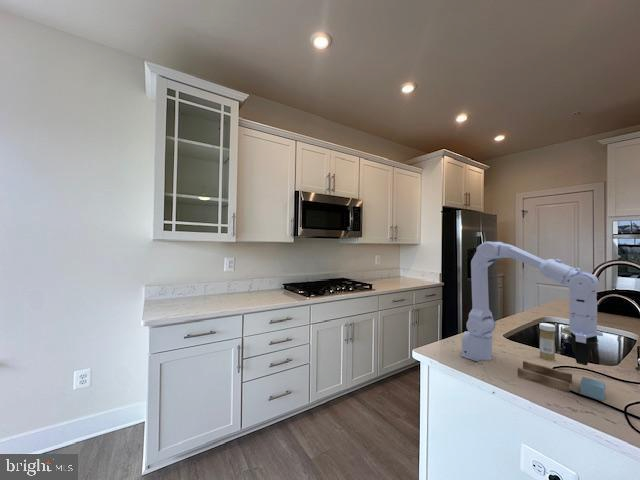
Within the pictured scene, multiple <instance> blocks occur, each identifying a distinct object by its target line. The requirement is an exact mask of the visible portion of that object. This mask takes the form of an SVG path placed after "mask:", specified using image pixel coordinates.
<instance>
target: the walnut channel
mask: <svg viewBox="0 0 640 480" xmlns="http://www.w3.org/2000/svg"><path fill="white" fill-rule="evenodd" d="M517 377H518V378H520V379H524V380H528V381H530V382H534V383H537V384H540V385H543V386H546V387H549V388H553V389H556V390H559V391H563V392H566V393H568V394H569V393H570V390H571V386H572V383H573V374H572V373H570V372H566V371H563V370H559V369H555V368H551V367H548V366H544V365H540V364H538V363H537V364H536V363H533V362H531V361H530V362H529V361H526V360H523V361H522V368H521V367H517Z"/></svg>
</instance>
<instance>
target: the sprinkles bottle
mask: <svg viewBox="0 0 640 480" xmlns="http://www.w3.org/2000/svg"><path fill="white" fill-rule="evenodd" d="M538 324H539V327H538V328H539V358H541V359H543V360H546V361H552V362H553V361H556V357H555V356H556V355H555V354H556V345H555V344H556V333H555V332H556V326H555V325H554V324H552V323H547V322H541V323H538Z"/></svg>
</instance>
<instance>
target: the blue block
mask: <svg viewBox="0 0 640 480" xmlns="http://www.w3.org/2000/svg"><path fill="white" fill-rule="evenodd" d="M580 395H583V396H587V397H588V398H589V397H590V398H592V399H596V400H599V401H601V402H604V401H605V397H606V382H603V381H599V380H598V379H597V380H596V379H593V378H590V377H586V376H582V377H581V380H580Z"/></svg>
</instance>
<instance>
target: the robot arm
mask: <svg viewBox="0 0 640 480" xmlns="http://www.w3.org/2000/svg"><path fill="white" fill-rule="evenodd" d="M505 258H506V259H508V258H509V259H510V258H511V259H514V260H517V261H519V262H521V263H524V264H526V265H529V266H531V267H533V268H536V269H538V271H539V273H540V274H541V275H542V276H543V277H545V278H548V279H550V280H553V281H554V282H557V283H559V284H561V285H563V286H566V287H567V288H568V289H569V290H570V291H569V318H568V319H569V320H568V322H569V324H568V325H569V326H568V331H569V332H570V335H571V336H569V335H568V337H567V340H568V342H569V343H570V345H571V347H572V351H573V353H574V358H575V362H576V364H579V365H583V366H588V364H589V360H590V357H591V353H592V351H593V349H594V348H595V346H596V345H597V342H596V341H597V340H598V337H603V336H604V332H602V331H598V300H597V297H598V294H597V291H596V290H597V289H599V286H600V280H599V279H598V276H596V275H594V274H593V273H591V272H589V271H582V269H581V268H579V267H576V268H575V267H572V266H571V265H567V264H565V263H563V260H561V259H558V258H556V259H553V258H549V259H543V258H540V257H539V256H537V255H534V254H532V253H530V252H528V251H526V250H523V249H521V248H519V247H517V246H515V245H512V244H509V243H505V242H502V241H484V242H482V243H481V244H479V245H478V246H477V247H476V252H475V253H474V255H473V257H472V259H471V262H470V270H471V271H470V276H471V277H470V278H471V301H472V302H471V303H472V305H471V306H472V307H471V308H472V309H470V312H469V313H468V319H467V321H466V323H465V324H466V326H465V327H466V329H467V331H466V330H465V331H464V332H463V334H462V338H461V355H460V356H461V357H462V358H466V359H469V360H472V361H474V362H479V361H492V359H493V331H495V328H496V323H495V322H496V321H495V320H494V317H493V313H492V311H491V310H490V303H489V301H490V300H489V299H490V298H489V277H488V276H489V275H488V274H489V272H488V271H489V269H488V267H490V266H491V265H492V264H494V263H495V262H496V261H499V260H501V259H505Z"/></svg>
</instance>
